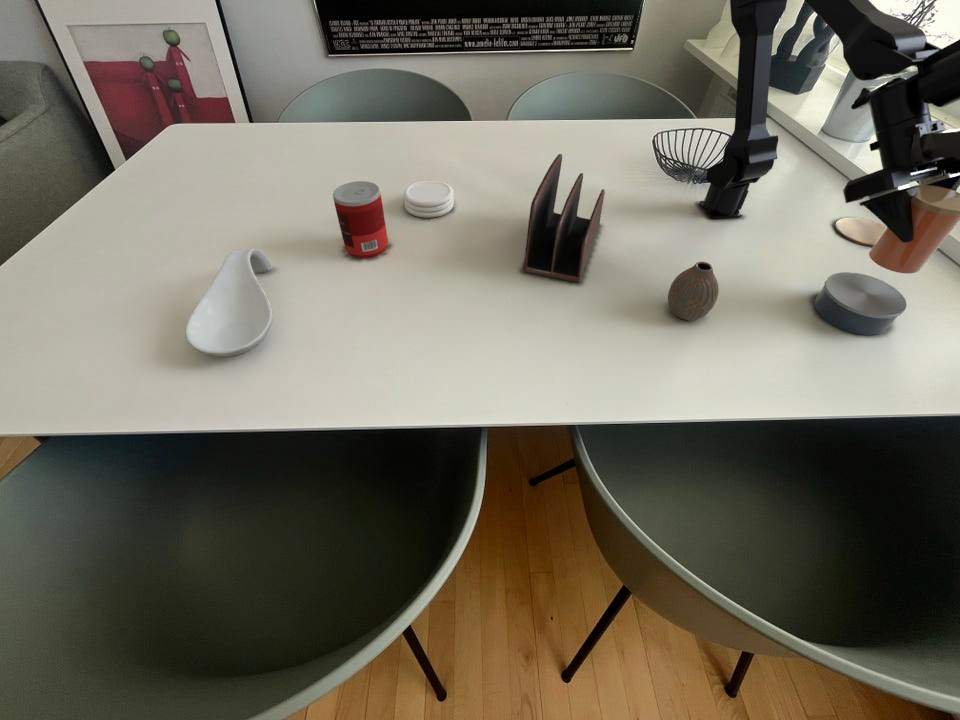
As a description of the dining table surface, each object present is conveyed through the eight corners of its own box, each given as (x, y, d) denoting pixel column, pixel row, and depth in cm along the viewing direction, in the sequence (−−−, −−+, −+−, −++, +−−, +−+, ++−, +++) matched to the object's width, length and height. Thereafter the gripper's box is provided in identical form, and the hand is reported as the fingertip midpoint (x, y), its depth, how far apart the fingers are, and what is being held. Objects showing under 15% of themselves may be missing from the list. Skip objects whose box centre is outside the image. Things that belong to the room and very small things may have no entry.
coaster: (396, 213, 97) (394, 197, 95) (418, 191, 104) (417, 175, 101) (441, 223, 94) (440, 206, 92) (461, 200, 101) (460, 184, 98)
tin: (840, 338, 72) (855, 318, 69) (799, 294, 79) (811, 274, 76) (906, 333, 73) (924, 313, 70) (859, 289, 80) (874, 269, 77)
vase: (710, 329, 73) (733, 283, 67) (664, 323, 74) (681, 277, 68) (705, 301, 78) (725, 255, 71) (661, 296, 79) (677, 250, 72)
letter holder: (522, 272, 83) (528, 196, 73) (549, 217, 96) (558, 146, 86) (579, 284, 81) (593, 207, 71) (599, 226, 94) (614, 153, 84)
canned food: (396, 241, 90) (388, 185, 82) (372, 264, 85) (361, 206, 77) (362, 232, 92) (351, 177, 84) (337, 253, 87) (322, 197, 79)
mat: (856, 248, 89) (858, 246, 88) (824, 220, 96) (825, 218, 95) (906, 245, 89) (908, 243, 89) (870, 217, 96) (871, 216, 96)
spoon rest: (274, 364, 68) (257, 326, 63) (186, 373, 66) (162, 336, 61) (292, 267, 84) (280, 231, 79) (222, 273, 83) (205, 237, 78)
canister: (892, 277, 68) (942, 212, 61) (856, 249, 73) (899, 187, 65) (933, 271, 69) (987, 207, 62) (895, 245, 74) (941, 182, 66)
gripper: (923, 102, 55) (950, 234, 56) (1025, 83, 60) (1048, 205, 61) (830, 145, 66) (853, 255, 67) (922, 126, 71) (943, 229, 72)
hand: (925, 236), depth 66 cm, fingers closed on canister, 6 cm apart
